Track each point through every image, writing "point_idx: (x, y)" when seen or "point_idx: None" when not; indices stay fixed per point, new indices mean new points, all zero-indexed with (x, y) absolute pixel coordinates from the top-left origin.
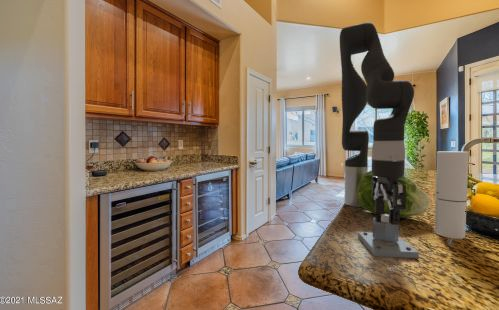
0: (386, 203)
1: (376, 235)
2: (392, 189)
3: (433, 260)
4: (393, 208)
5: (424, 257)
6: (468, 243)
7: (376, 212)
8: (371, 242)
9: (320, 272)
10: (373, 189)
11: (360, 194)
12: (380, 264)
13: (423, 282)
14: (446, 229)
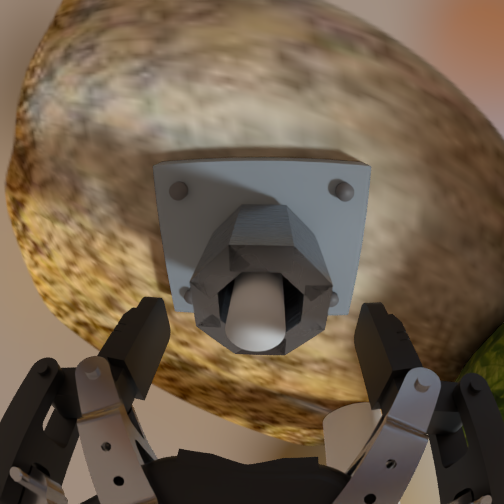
0: (496, 372)
1: (238, 213)
2: (14, 480)
3: (179, 327)
4: (53, 361)
5: (193, 317)
6: (297, 423)
7: (364, 306)
8: (236, 179)
9: (62, 7)
10: (475, 435)
11: None
12: (110, 165)
13: (60, 241)
14: (338, 426)
